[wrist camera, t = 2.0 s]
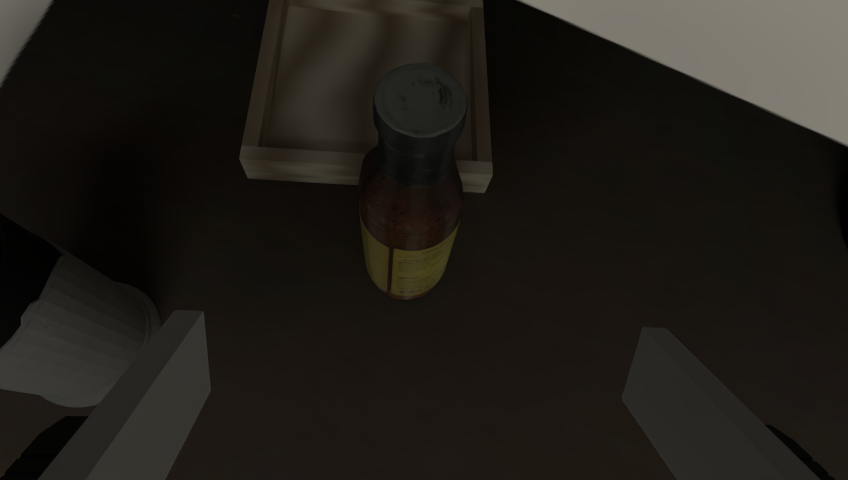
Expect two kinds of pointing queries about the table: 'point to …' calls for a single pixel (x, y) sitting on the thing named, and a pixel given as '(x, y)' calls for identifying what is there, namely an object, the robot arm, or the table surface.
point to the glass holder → (65, 322)
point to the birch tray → (357, 84)
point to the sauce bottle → (412, 179)
